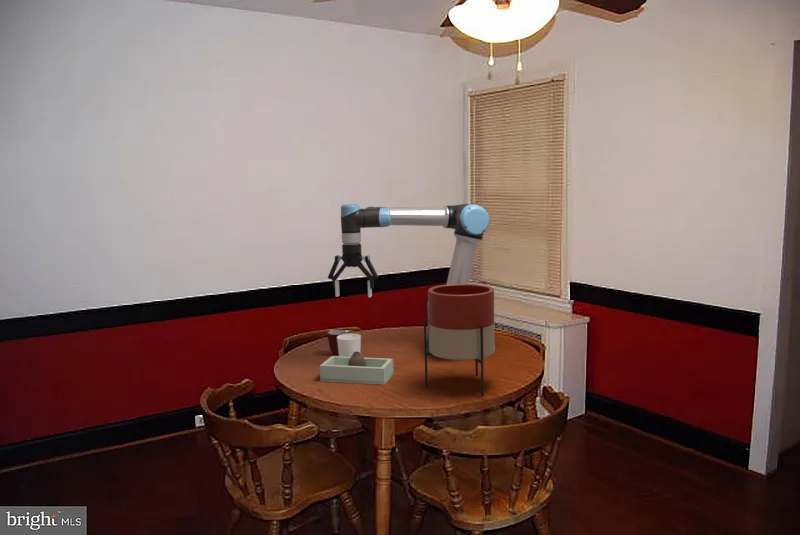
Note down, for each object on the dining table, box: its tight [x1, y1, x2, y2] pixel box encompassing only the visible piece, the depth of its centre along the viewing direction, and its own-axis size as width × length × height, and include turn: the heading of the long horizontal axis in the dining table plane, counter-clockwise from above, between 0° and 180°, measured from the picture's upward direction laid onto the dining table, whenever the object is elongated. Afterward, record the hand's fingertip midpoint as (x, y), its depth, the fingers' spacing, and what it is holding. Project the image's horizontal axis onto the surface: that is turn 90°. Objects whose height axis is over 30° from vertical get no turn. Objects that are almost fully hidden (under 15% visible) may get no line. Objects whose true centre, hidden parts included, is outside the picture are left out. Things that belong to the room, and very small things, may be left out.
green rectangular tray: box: [319, 355, 394, 385], centre depth 241 cm, size 25×13×6 cm, turn 76°
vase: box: [348, 352, 366, 367], centre depth 241 cm, size 7×7×9 cm
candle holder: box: [337, 332, 362, 357], centre depth 257 cm, size 10×10×12 cm
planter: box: [423, 283, 496, 397], centre depth 226 cm, size 24×25×35 cm
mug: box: [327, 329, 347, 356], centre depth 273 cm, size 11×8×10 cm
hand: (353, 296), depth 252 cm, fingers open, 13 cm apart
